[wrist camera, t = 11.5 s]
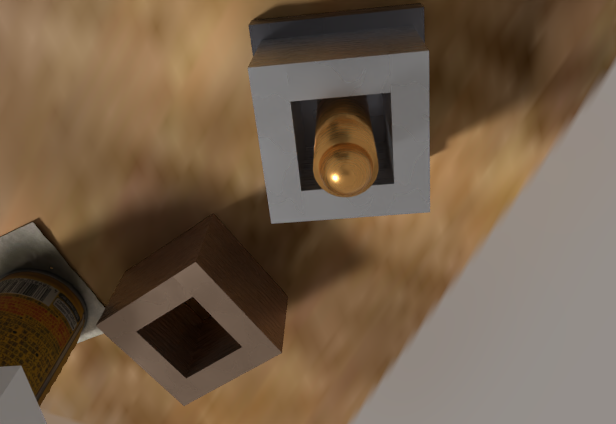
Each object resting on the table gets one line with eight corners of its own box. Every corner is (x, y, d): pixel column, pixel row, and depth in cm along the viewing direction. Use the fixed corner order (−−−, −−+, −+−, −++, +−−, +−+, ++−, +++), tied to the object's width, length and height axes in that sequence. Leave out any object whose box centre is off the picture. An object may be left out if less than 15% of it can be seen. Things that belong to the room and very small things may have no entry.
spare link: (125, 272, 35) (95, 325, 31) (213, 213, 33) (195, 262, 29) (201, 346, 38) (183, 405, 33) (287, 296, 36) (281, 352, 31)
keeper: (251, 20, 28) (214, 78, 19) (420, 3, 27) (464, 54, 18) (273, 172, 32) (251, 280, 23) (422, 160, 31) (459, 266, 22)
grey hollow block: (261, 40, 27) (247, 67, 23) (412, 25, 27) (429, 50, 22) (279, 176, 31) (271, 223, 26) (415, 166, 30) (429, 212, 26)
